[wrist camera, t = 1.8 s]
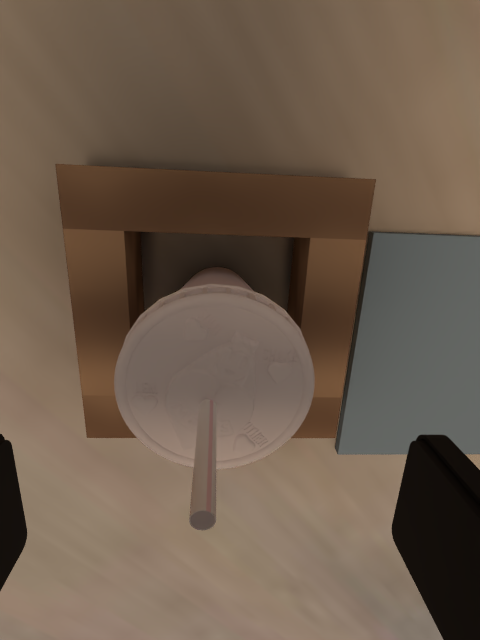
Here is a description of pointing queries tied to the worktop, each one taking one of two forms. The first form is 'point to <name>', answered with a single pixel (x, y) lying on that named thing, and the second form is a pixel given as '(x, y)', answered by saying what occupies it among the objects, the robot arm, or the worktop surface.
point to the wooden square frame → (210, 218)
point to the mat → (414, 345)
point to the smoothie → (214, 380)
